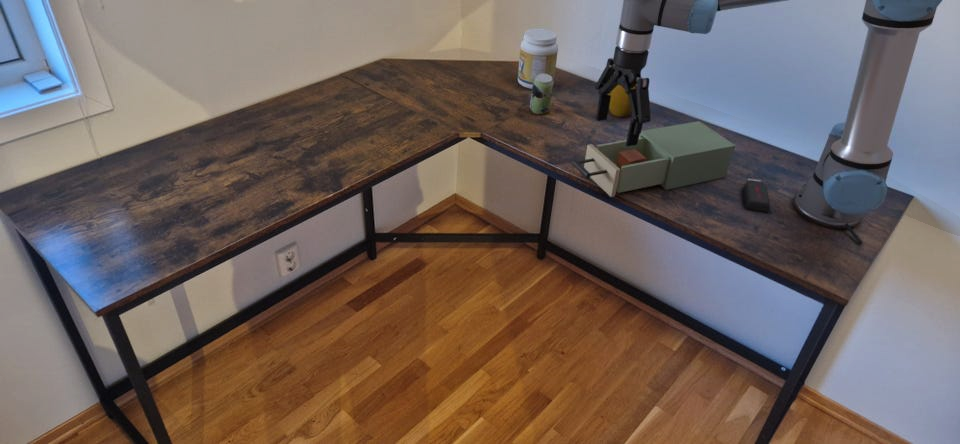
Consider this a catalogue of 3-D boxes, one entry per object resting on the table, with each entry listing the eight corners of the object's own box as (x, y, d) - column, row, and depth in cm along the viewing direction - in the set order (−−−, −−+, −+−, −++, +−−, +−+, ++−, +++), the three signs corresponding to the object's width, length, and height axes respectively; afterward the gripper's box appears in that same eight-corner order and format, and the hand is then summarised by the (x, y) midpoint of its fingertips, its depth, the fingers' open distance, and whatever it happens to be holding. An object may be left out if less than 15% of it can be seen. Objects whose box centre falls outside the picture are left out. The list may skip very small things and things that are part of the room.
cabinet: (665, 190, 167) (673, 157, 161) (633, 162, 178) (639, 131, 172) (725, 177, 174) (735, 145, 168) (690, 151, 184) (699, 120, 179)
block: (626, 180, 166) (630, 161, 163) (615, 170, 170) (618, 152, 166) (642, 176, 168) (646, 158, 165) (631, 167, 171) (635, 149, 168)
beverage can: (544, 106, 204) (548, 69, 197) (553, 116, 198) (558, 79, 191) (525, 107, 202) (529, 71, 195) (534, 118, 197) (538, 81, 190)
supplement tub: (514, 75, 222) (518, 27, 213) (549, 76, 224) (555, 27, 214) (520, 90, 213) (524, 40, 203) (556, 90, 214) (563, 40, 204)
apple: (636, 124, 197) (644, 84, 189) (600, 118, 199) (607, 78, 192) (640, 110, 205) (649, 71, 198) (606, 104, 208) (613, 65, 200)
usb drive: (746, 208, 162) (749, 199, 160) (741, 184, 171) (744, 175, 170) (768, 212, 161) (771, 203, 159) (762, 187, 170) (765, 178, 169)
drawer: (589, 201, 159) (594, 174, 154) (562, 174, 169) (566, 148, 164) (671, 184, 168) (678, 158, 163) (641, 159, 177) (647, 134, 173)
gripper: (679, 66, 139) (658, 153, 151) (616, 28, 157) (602, 108, 170) (650, 70, 136) (631, 158, 149) (589, 30, 155) (577, 112, 167)
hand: (615, 132), depth 159 cm, fingers open, 13 cm apart
